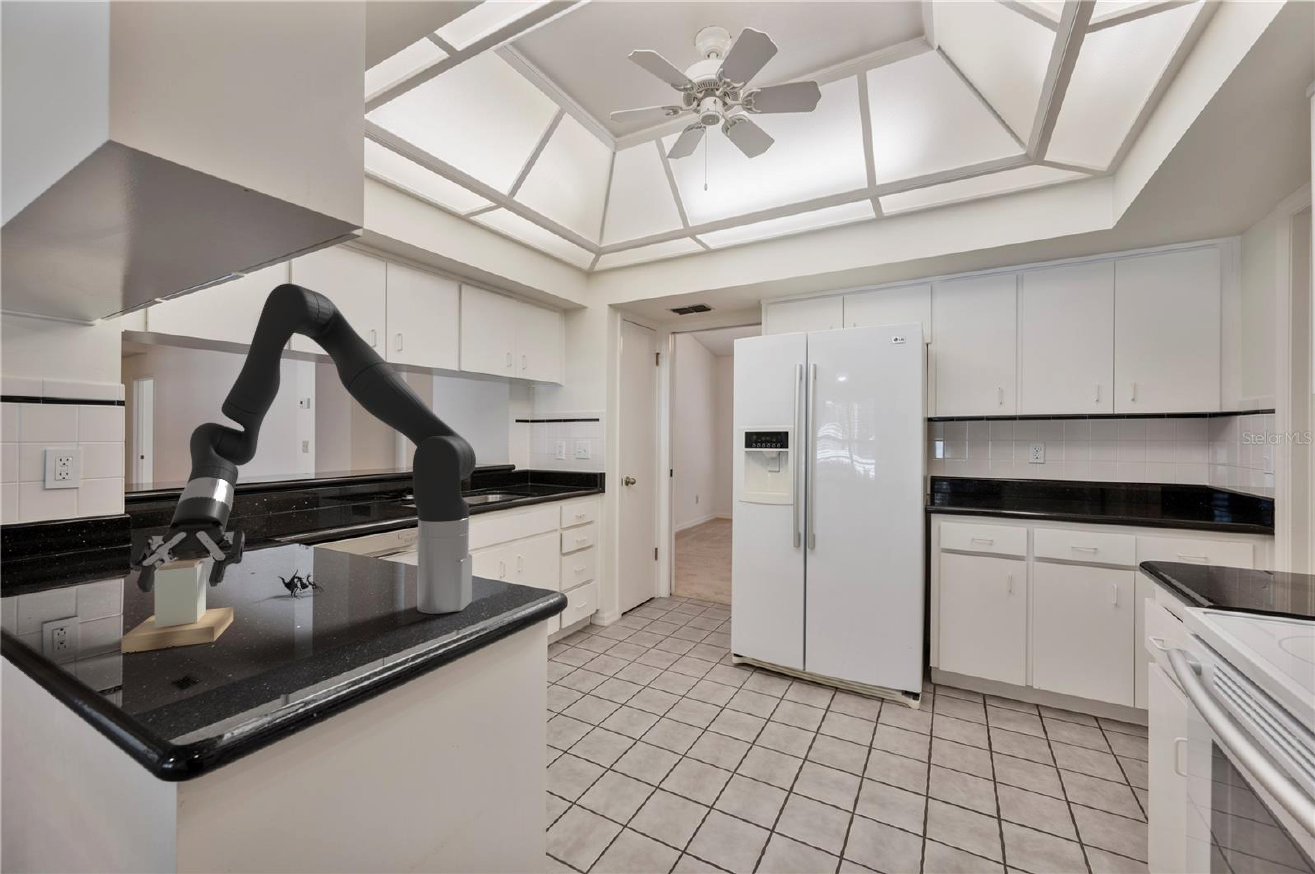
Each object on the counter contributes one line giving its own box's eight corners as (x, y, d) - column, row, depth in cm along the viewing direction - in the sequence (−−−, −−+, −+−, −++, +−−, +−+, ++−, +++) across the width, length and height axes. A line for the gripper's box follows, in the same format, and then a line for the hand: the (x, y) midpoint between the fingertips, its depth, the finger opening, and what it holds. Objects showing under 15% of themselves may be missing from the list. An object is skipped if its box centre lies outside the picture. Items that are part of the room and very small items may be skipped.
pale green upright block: (205, 613, 90) (205, 557, 90) (197, 622, 86) (197, 563, 86) (165, 618, 88) (165, 561, 88) (154, 628, 83) (154, 567, 83)
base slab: (233, 623, 94) (233, 606, 94) (213, 645, 84) (214, 626, 84) (151, 633, 89) (152, 615, 89) (121, 657, 79) (121, 637, 79)
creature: (331, 594, 114) (294, 586, 114) (337, 570, 114) (300, 562, 114) (308, 606, 106) (269, 597, 106) (315, 580, 106) (275, 571, 106)
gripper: (146, 496, 90) (112, 579, 80) (249, 493, 97) (229, 570, 86) (159, 523, 95) (128, 604, 85) (255, 518, 101) (238, 593, 91)
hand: (179, 586), depth 86 cm, fingers open, 8 cm apart
